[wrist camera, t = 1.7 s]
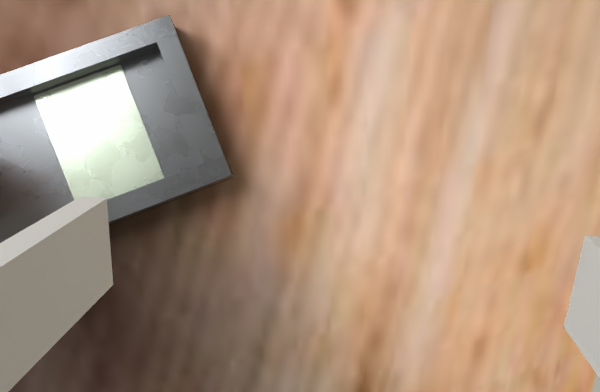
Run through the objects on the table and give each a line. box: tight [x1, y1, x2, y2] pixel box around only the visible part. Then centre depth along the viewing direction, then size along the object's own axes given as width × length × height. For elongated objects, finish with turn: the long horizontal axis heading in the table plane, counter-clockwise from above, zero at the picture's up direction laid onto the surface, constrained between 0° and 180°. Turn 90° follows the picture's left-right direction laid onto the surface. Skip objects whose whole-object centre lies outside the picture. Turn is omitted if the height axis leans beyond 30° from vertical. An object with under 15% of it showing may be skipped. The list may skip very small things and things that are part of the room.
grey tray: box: [0, 15, 233, 243], centre depth 39 cm, size 28×13×2 cm, turn 111°
